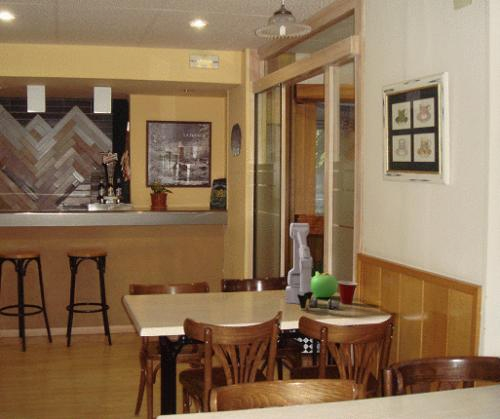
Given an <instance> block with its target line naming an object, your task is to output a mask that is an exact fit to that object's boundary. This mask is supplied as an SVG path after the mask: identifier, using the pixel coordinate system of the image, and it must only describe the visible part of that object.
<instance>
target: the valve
mask: <svg viewBox="0 0 500 419" xmlns="http://www.w3.org/2000/svg"><path fill="white" fill-rule="evenodd" d="M300 311H301V312H309V311H310V308H309V298H307V301H306V307H305V309H303V308H301V307H300Z"/></svg>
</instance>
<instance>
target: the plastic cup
mask: <svg viewBox="0 0 500 419" xmlns="http://www.w3.org/2000/svg"><path fill="white" fill-rule="evenodd" d="M337 283H338V290H339V297H340V303H341V304H342V305H352V304H353V300H354V297H355V291H356V287H357V286H358V283H357V282H354V281H348V280H338V281H337ZM351 303H352V304H351Z"/></svg>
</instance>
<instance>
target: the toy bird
mask: <svg viewBox="0 0 500 419" xmlns="http://www.w3.org/2000/svg"><path fill="white" fill-rule="evenodd" d="M311 290H313V295H312V296H315V298H320V299H326V298H330V297H332V296H334V295H335V294H336V293H337V292H338V290H339V283H338V281H337V279H336V277H335V276H333V275H332V274H330V273H329V272H322V273H320V272H319V271H315V275H314V276H311Z"/></svg>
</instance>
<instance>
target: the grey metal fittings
mask: <svg viewBox="0 0 500 419" xmlns="http://www.w3.org/2000/svg"><path fill="white" fill-rule="evenodd" d="M327 301H328V303H327V306H323V305H318V302H319V300H318V297H314V298H312V297H311V300H310V304H309V309H311V308H315V309H316V308H320V309H319V310H330V309H331V310H332V309H333V311H338V310H339V309H340V301H339V300H334V299H332V298H329V299H328V300H327ZM328 308H329V309H328ZM337 309H338V310H337Z"/></svg>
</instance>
